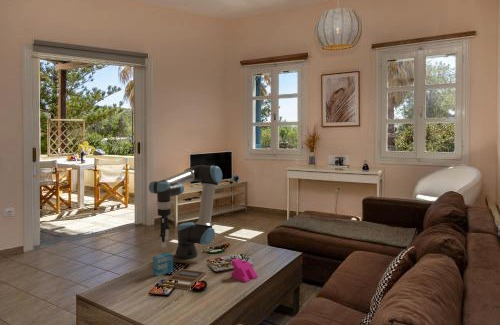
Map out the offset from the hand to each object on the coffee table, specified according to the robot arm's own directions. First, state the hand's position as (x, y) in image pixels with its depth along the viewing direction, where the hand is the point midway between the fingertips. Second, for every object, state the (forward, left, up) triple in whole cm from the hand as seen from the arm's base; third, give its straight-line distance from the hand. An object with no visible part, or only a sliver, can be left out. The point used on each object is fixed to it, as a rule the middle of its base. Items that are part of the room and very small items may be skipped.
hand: (164, 243), depth 226 cm
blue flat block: (-5, -4, -21) cm, 22 cm away
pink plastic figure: (-16, +45, -21) cm, 52 cm away
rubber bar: (-4, +14, -20) cm, 25 cm away
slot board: (+1, +14, -21) cm, 25 cm away
